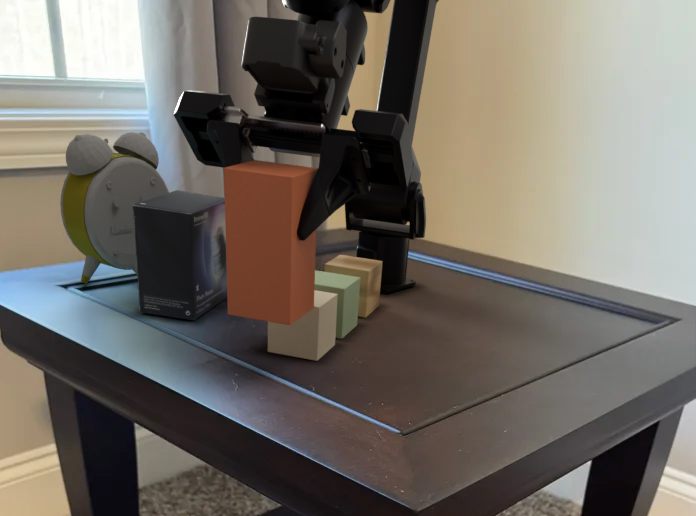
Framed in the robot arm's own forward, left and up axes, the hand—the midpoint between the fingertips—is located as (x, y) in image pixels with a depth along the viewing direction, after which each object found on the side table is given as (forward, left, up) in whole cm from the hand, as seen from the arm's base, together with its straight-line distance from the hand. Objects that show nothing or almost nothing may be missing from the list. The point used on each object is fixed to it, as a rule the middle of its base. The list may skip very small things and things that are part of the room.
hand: (264, 231), depth 60 cm
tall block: (-1, 0, -7) cm, 7 cm away
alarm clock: (-10, -31, -12) cm, 35 cm away
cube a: (-22, -8, -12) cm, 27 cm away
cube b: (-15, -5, -12) cm, 20 cm away
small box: (-9, -20, -12) cm, 25 cm away
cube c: (-8, -3, -12) cm, 15 cm away
